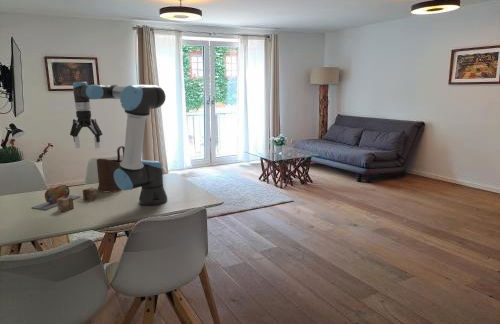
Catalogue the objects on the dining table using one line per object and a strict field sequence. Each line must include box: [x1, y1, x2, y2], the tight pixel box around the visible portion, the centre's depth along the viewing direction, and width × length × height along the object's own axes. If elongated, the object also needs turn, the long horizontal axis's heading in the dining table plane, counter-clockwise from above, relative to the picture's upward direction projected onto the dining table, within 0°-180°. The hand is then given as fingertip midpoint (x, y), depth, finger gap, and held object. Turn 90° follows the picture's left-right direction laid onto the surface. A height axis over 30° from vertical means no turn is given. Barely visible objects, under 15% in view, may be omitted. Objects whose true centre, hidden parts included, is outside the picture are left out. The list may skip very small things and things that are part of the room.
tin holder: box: [57, 187, 98, 212], centre depth 198 cm, size 6×23×6 cm, turn 161°
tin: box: [44, 184, 70, 203], centre depth 202 cm, size 15×3×8 cm, turn 161°
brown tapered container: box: [96, 145, 125, 193], centre depth 231 cm, size 18×24×25 cm
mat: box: [31, 194, 82, 211], centre depth 202 cm, size 10×24×1 cm, turn 161°
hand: (87, 148), depth 206 cm, fingers open, 13 cm apart
